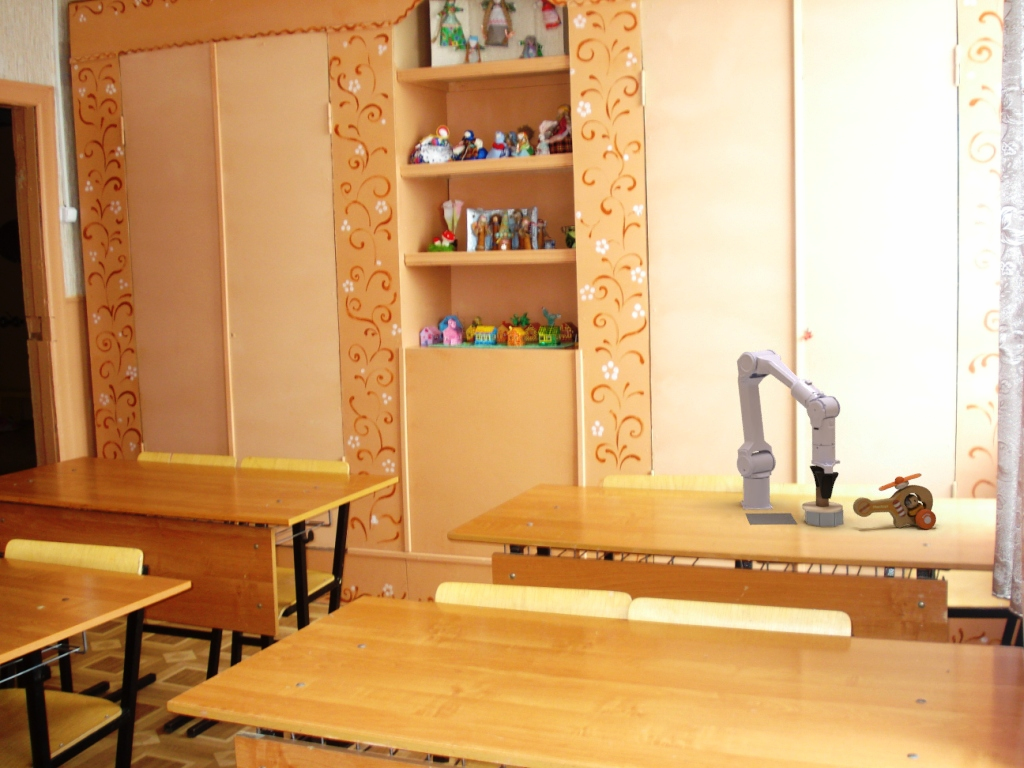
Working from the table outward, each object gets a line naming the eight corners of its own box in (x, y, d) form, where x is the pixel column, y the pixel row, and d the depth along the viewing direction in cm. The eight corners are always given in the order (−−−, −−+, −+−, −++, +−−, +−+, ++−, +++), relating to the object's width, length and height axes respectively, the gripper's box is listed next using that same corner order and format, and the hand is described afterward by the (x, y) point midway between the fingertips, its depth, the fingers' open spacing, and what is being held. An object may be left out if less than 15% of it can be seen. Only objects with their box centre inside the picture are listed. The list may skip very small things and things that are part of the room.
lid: (799, 504, 262) (799, 484, 262) (839, 504, 261) (839, 483, 260) (805, 513, 252) (804, 492, 252) (845, 513, 251) (845, 492, 250)
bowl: (803, 519, 262) (803, 504, 262) (838, 519, 261) (838, 504, 260) (809, 528, 253) (808, 512, 253) (845, 527, 252) (845, 512, 251)
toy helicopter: (940, 528, 248) (941, 474, 246) (862, 534, 245) (862, 480, 244) (922, 521, 256) (923, 468, 255) (846, 526, 253) (846, 473, 252)
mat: (745, 514, 269) (745, 513, 269) (790, 514, 268) (790, 513, 268) (750, 525, 258) (750, 524, 257) (797, 525, 256) (797, 524, 256)
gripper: (845, 448, 247) (845, 501, 248) (834, 438, 261) (834, 489, 263) (816, 448, 248) (816, 502, 249) (806, 439, 262) (807, 489, 264)
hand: (823, 495), depth 256 cm, fingers open, 6 cm apart
